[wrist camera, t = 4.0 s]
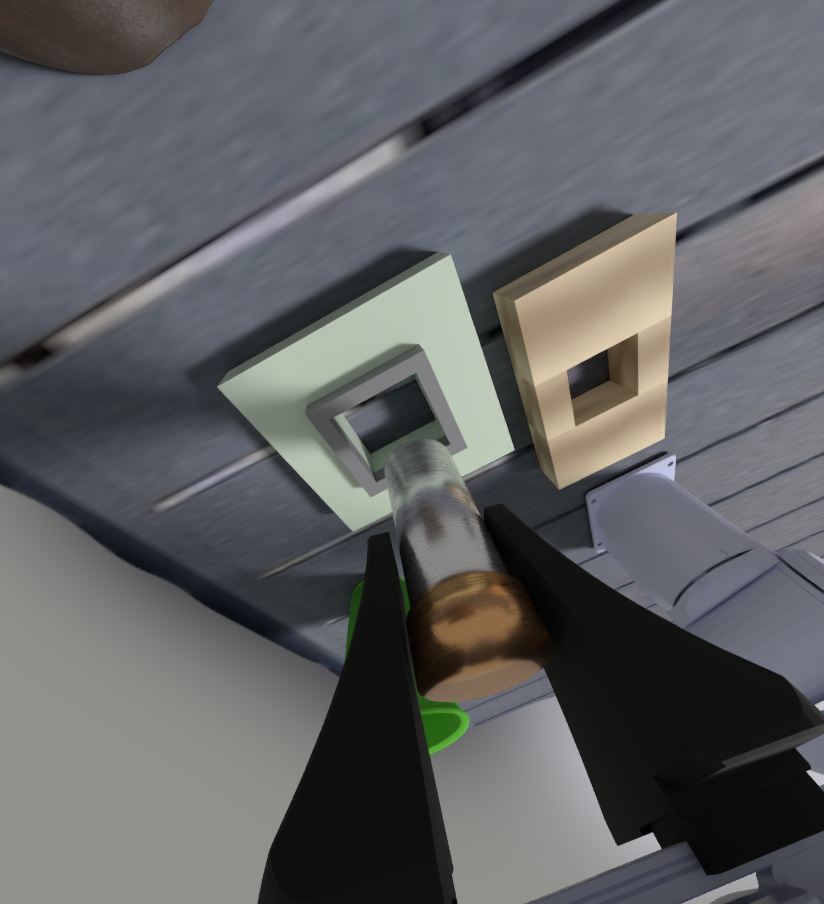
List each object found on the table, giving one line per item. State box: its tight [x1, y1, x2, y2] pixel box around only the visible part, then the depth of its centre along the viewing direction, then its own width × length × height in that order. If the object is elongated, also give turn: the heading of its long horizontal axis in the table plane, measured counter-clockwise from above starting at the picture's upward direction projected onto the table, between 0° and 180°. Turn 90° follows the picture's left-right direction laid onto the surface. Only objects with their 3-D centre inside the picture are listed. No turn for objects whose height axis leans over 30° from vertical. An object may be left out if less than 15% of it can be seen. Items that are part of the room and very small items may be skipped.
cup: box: [345, 576, 469, 755], centre depth 25 cm, size 9×9×11 cm
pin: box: [385, 439, 554, 702], centre depth 11 cm, size 3×3×8 cm
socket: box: [217, 252, 515, 532], centre depth 18 cm, size 12×12×3 cm
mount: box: [492, 212, 677, 490], centre depth 20 cm, size 14×8×2 cm, turn 25°
